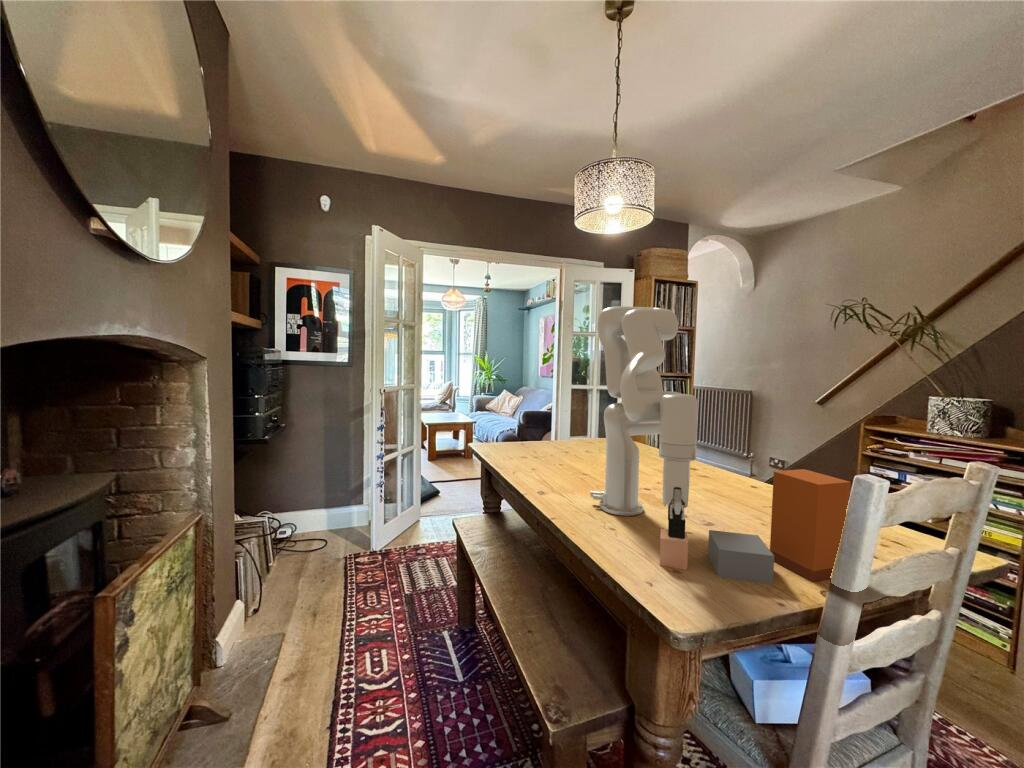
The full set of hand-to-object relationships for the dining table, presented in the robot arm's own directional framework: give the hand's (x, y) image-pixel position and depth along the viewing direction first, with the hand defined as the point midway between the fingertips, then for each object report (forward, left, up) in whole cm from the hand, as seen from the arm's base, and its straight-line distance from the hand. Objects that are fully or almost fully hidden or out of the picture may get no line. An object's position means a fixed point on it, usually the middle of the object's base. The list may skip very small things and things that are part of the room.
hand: (675, 529), depth 89 cm
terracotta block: (0, +1, -8) cm, 8 cm away
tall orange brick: (+27, +9, -8) cm, 29 cm away
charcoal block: (+13, +3, -8) cm, 15 cm away
